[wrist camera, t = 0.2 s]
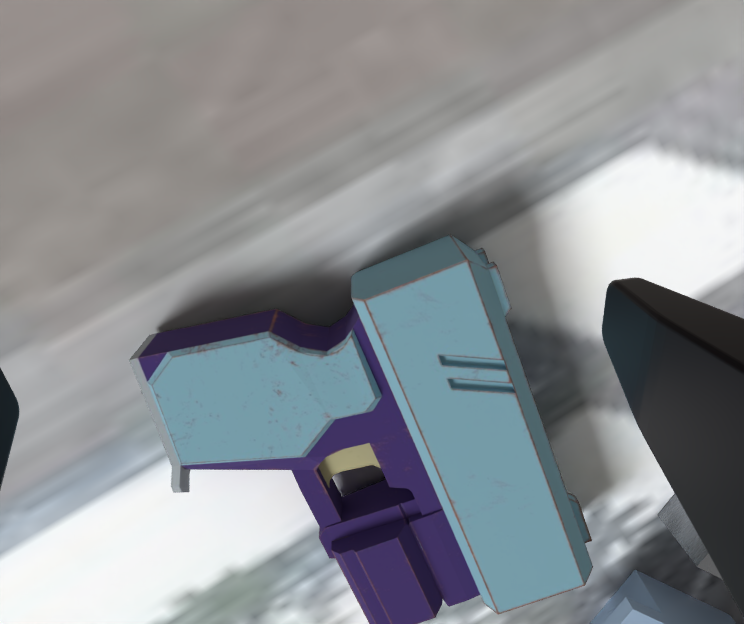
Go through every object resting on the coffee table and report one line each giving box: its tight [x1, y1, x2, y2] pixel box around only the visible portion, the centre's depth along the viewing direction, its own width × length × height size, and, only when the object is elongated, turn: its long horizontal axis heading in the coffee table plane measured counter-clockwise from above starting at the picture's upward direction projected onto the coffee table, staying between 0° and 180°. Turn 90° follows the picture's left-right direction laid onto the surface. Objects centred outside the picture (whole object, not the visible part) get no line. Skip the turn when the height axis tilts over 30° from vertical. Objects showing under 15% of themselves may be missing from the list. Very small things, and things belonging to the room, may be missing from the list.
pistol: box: [129, 235, 593, 624], centre depth 26 cm, size 4×16×15 cm
